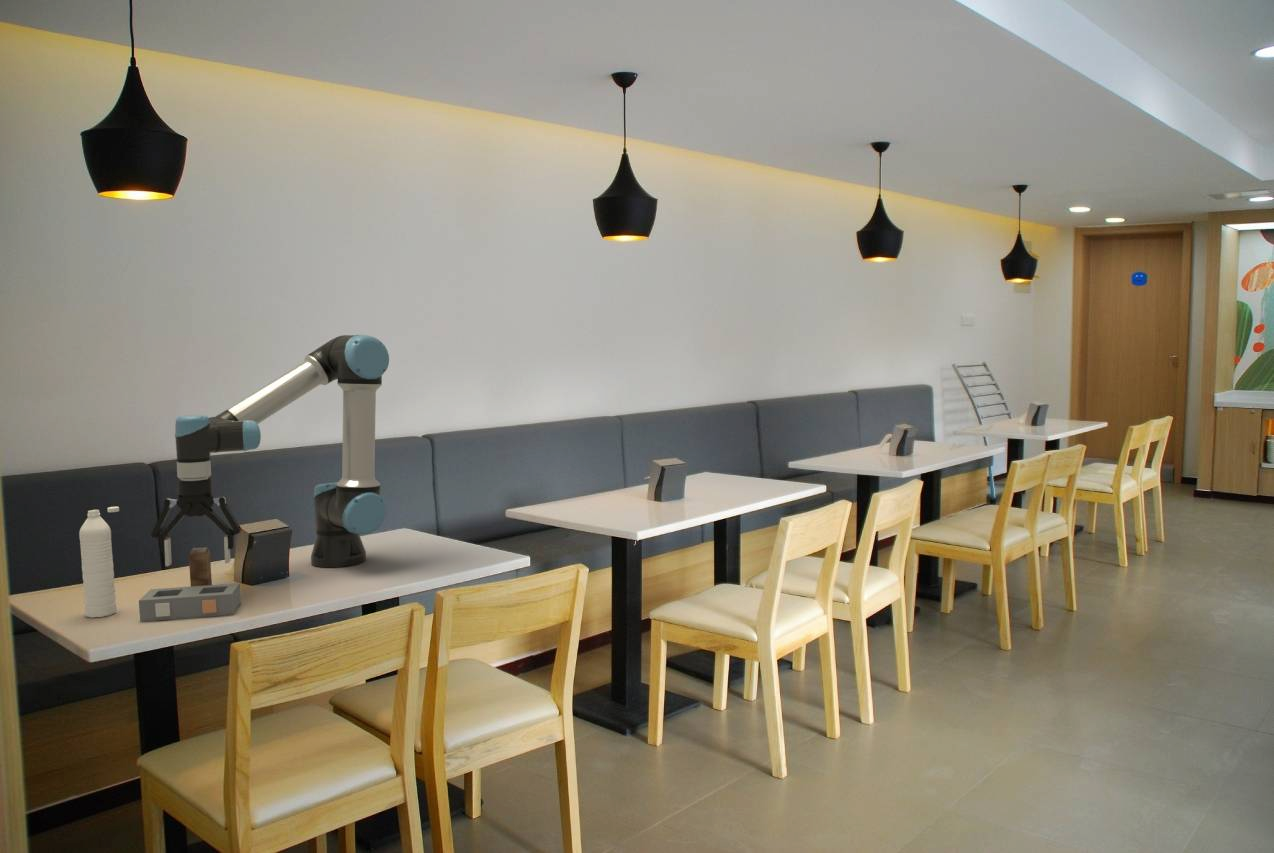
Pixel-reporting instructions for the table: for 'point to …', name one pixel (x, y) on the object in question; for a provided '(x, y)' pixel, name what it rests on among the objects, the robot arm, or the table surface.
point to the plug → (200, 567)
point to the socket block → (189, 602)
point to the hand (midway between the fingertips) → (198, 563)
